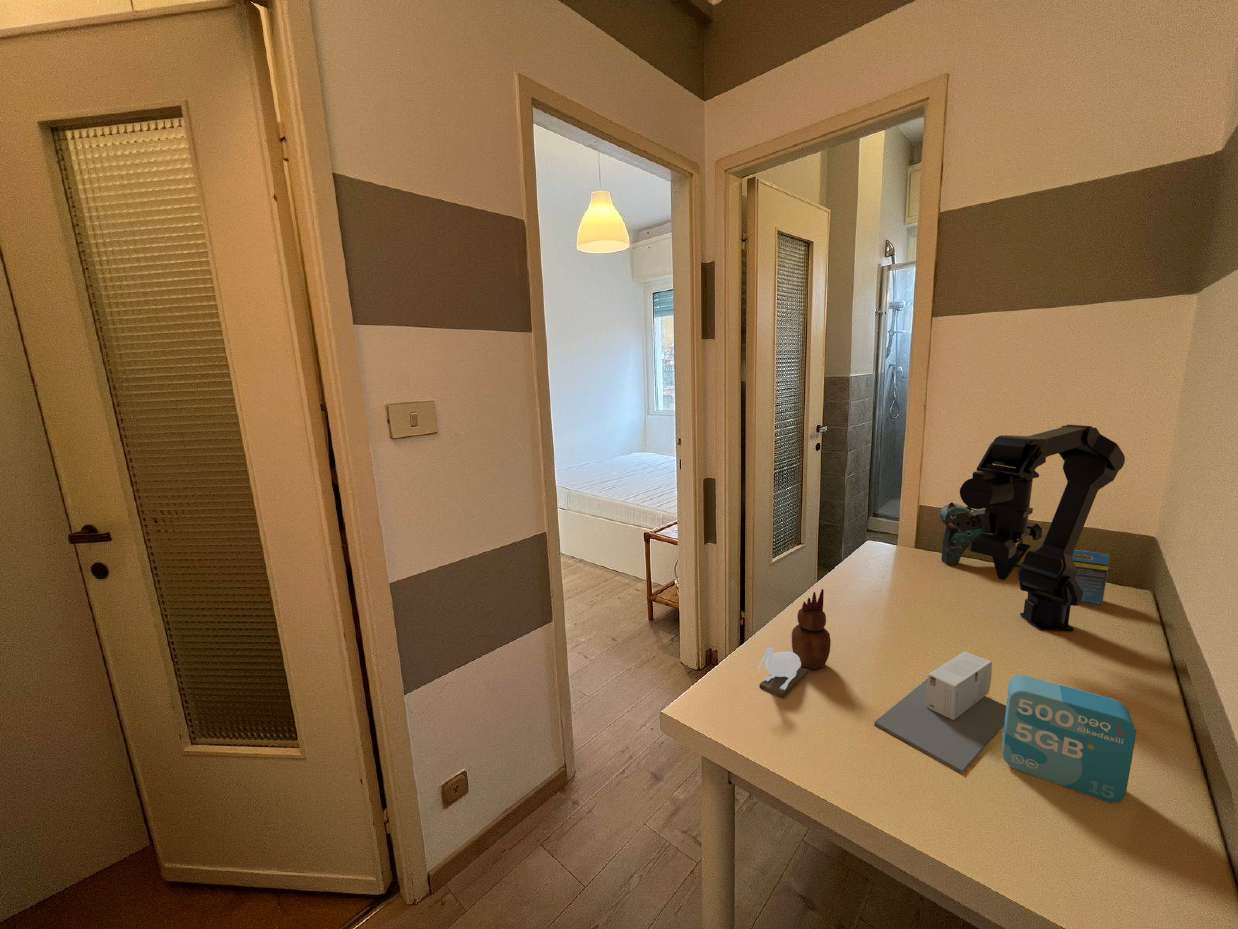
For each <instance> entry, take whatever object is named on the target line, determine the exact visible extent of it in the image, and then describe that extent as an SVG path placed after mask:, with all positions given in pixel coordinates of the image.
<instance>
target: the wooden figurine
mask: <svg viewBox="0 0 1238 929" xmlns="http://www.w3.org/2000/svg"><path fill="white" fill-rule="evenodd" d="M824 591H825V590H824V588H821V590H820V593H819V596H818V598H817V595H816V591H813V593H812V598H810V597H807V601H803V603H802V606H801V608H800V609H798V611H797V614H796V615H797V623H798V624H796V626H794V627H793V629H792V630H791V649H792V652H793V653H795V654H796V655H798V657H799V658H800V662H801V667H802V668H805V669H811V670H812V669H813V670H817V669H820V668H823V667H824V666H825V665H826V663H827V661H828V659H829V657H830V651H831V645H832V644H831V642H832V640H831V635H830V632H829V631H828V629H826V628H825V627H826V625H827V624H826V623H827V616H826V613H825V612H824V593H825V592H824Z"/></svg>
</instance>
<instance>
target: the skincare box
mask: <svg viewBox="0 0 1238 929" xmlns="http://www.w3.org/2000/svg"><path fill="white" fill-rule="evenodd" d="M992 670H993V663H992V661H990V660H989V659H986V658H983V657H981V656H978V655H976V654H973V653H971V652H968V651H962V652H961V653H959V654H957V655H956V656H955V657H953V658H951V659H950V660H949V661H947V662H945V663H944V664H942V665H941V666H939V667H938V668H936V669H934V670H932V671H931V672H929V673H928V675H927V679H928V686H927V689H926V694H927V702H926V707H927V708H929V709H931V710H933V711H935V712H937V713H939V714H941V715H943V716H945V717H948V718H950V719H952V720H955V719H956V718H957V717H958V716H960V715H961V714H962V713H964V712H965V711H966V710H967V709H969V708H970V707H971V706H973V705H974V704H975V703H976V702H978V701H979V700H980V699H982V698H983V697H984V696H985V697H987V695H988V694H989V693H990V689H991V684H992V683H991V682H992V675H993V673H992V672H993V671H992Z"/></svg>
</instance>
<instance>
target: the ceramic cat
mask: <svg viewBox="0 0 1238 929" xmlns="http://www.w3.org/2000/svg"><path fill="white" fill-rule="evenodd" d="M984 510H985V508H983V509H972V508H970V507H968V506H967V505H966V506H963V505H961V504H957V503H954V502H952V501H951V502H950V503H948V504H946V505H944V506H943V507H941V510H940V513H939V516H940V517H939V518H940V520H941V522H942V523H943V524H944V525H945V530H944V533H943V538H942V548H941V561H942V563H944V564H945V565H946V566H947V567H948V566H952V567H953V566H954V567H957V566H959V565H960V560H961V558H962V556H963V553H964V552H965V550H967V548H969V541H970V540H971V539H973V538H975V537H977V536H979V535H981V534H982V533H983V532H982V529H977V530H967V531H965V532H959V531H958V528H957V527H956V526H954V525H953V522H954V519H953V518H954V517H955V516H956V514H957V513H959V512H966V511H968V512H975V511H984ZM983 534H988V533H983ZM988 535H992V533H989V534H988ZM1019 540H1022V542H1021V543H1022V544H1024V543H1023V542H1024V538H1022V539H1019ZM1016 567H1017V565H1016V566H1015V568H1016Z"/></svg>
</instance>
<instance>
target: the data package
mask: <svg viewBox="0 0 1238 929" xmlns="http://www.w3.org/2000/svg"><path fill="white" fill-rule="evenodd" d="M1005 705H1006V713H1005V721H1004V726H1003V732H1002V757H1003V760H1004V761H1005V763H1006V764H1007V765H1008V766H1009V767H1011V768H1012V769H1014V770H1015V771H1019V772H1021V773H1025V774H1026V775H1030V776H1033V777H1035V778H1038V779H1041V780H1044V781H1047V782H1050V783H1053V784H1056V785H1058V786H1061V787H1064V788H1067V789H1069V790H1072V791H1076V792H1078V793H1081V794H1083V795H1085V796H1089V797H1091V798H1095V799H1097V800H1100V801H1103V802H1106V803H1111V804H1112V803H1113V804H1117V803H1121V802H1123V801H1124V800H1125V798H1126V795H1127V789H1128V783H1129V778H1130V773H1131V768H1132V760H1133V757H1134V750H1135V746H1136V745H1135V744H1136V738H1137V730H1136V726H1135V724H1134V721H1133V719H1132V716H1131V713H1130V710H1129V708H1128V707H1127V706H1126V705H1125V704H1124V703H1123V702H1121V701H1119V700H1117V699H1114V698H1113V697H1112V698H1110V697H1108V696H1104V695H1100V694H1095V693H1092V692H1089V691H1084V690H1081V689H1077V688H1073V687H1069V686H1066V685H1062V684H1059V683H1058V684H1057V683H1054V682H1052V681H1047V680H1045V679H1044V680H1043V679H1039V678H1035V677H1032V676H1028V675H1023V674H1018V675H1014V676H1012V677H1011V678H1010V679H1009V682H1008V690H1007V698H1006V704H1005Z"/></svg>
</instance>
